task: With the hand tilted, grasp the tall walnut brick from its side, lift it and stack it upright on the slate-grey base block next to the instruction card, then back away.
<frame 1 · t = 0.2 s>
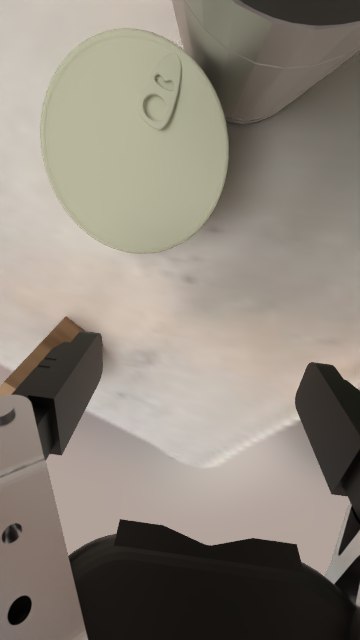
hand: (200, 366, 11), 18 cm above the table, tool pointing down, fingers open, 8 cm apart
can: (166, 162, 23), on the table
walnut brick: (72, 343, 34), on the table
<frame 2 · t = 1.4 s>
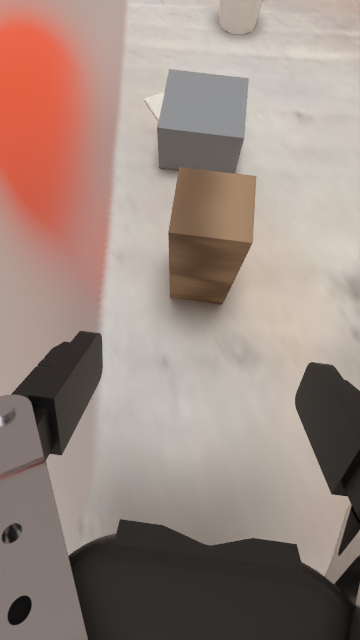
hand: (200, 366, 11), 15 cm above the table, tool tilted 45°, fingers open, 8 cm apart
walnut brick: (199, 277, 29), on the table
shot glass: (237, 24, 42), on the table
base block: (200, 144, 34), on the table
instruction card: (191, 108, 36), on the table
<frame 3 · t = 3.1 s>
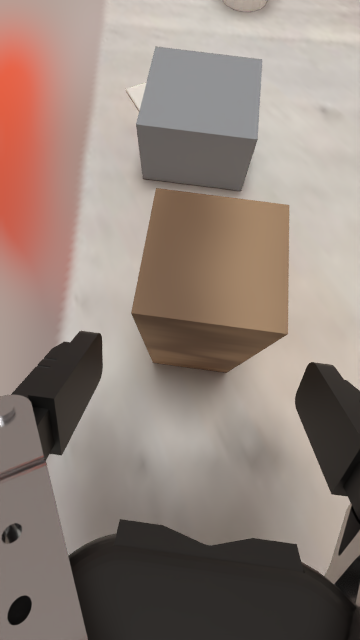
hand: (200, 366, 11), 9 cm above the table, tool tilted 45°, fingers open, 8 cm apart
walnut brick: (194, 332, 21), on the table
shot glass: (243, 0, 34), on the table
base block: (197, 147, 26), on the table
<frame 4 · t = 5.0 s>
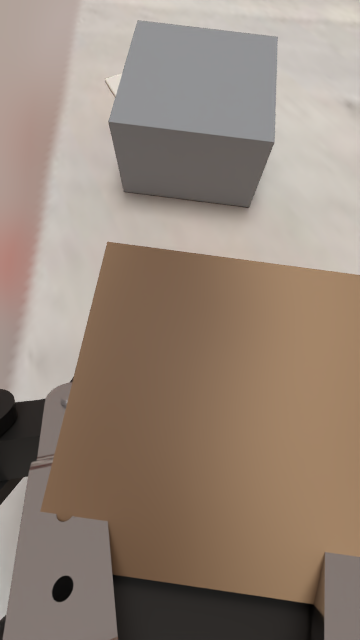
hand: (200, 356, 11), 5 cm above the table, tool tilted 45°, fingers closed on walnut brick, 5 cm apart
walnut brick: (189, 403, 15), on the table, touching gripper
base block: (193, 151, 21), on the table
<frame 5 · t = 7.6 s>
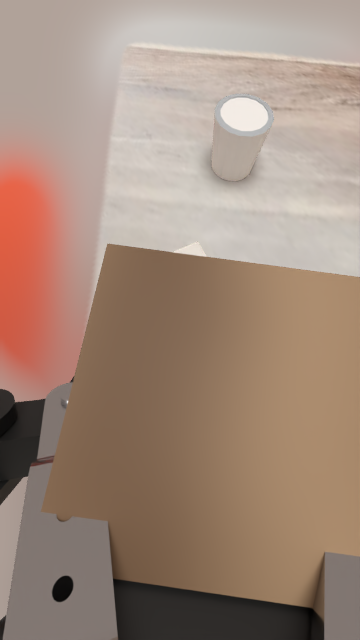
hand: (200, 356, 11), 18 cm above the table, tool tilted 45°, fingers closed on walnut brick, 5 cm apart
walnut brick: (189, 404, 15), point 13 cm above the table, touching gripper
shot glass: (231, 166, 38), on the table
when the fingers open (11 cm above the table, at t = 10.3 s): walnut brick drops 1 cm, resting on base block.
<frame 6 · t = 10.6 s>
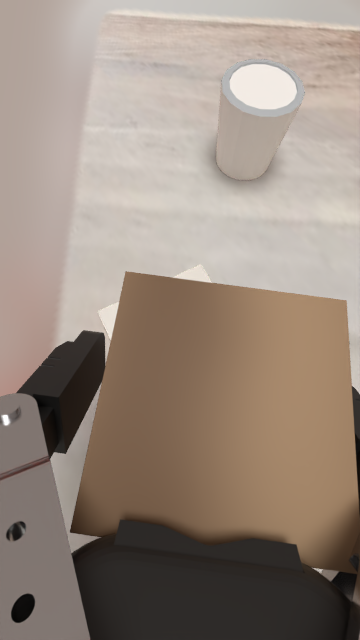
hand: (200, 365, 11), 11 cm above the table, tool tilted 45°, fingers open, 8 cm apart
walnut brick: (191, 404, 16), point 5 cm above the table, touching base block
shot glass: (241, 161, 29), on the table
instruction card: (171, 326, 23), on the table
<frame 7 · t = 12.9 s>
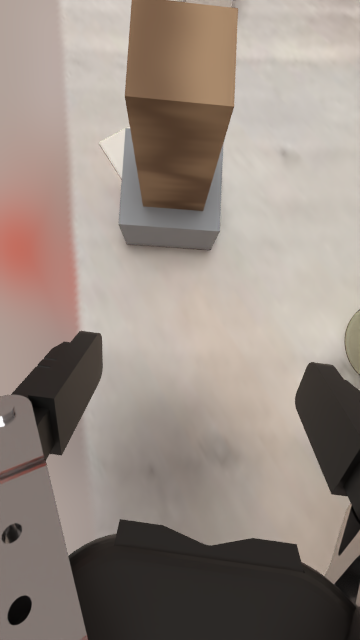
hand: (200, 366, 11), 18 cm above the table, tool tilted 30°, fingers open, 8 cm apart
walnut brick: (174, 179, 25), point 5 cm above the table, touching base block
shot glass: (208, 1, 32), on the table
base block: (171, 206, 30), on the table
instruction card: (157, 152, 30), on the table
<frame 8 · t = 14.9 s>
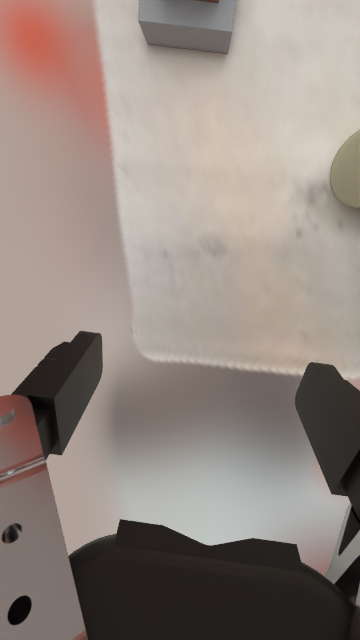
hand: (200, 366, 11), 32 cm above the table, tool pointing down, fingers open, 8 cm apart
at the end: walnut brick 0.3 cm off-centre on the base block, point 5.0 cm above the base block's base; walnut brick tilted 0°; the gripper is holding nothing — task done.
